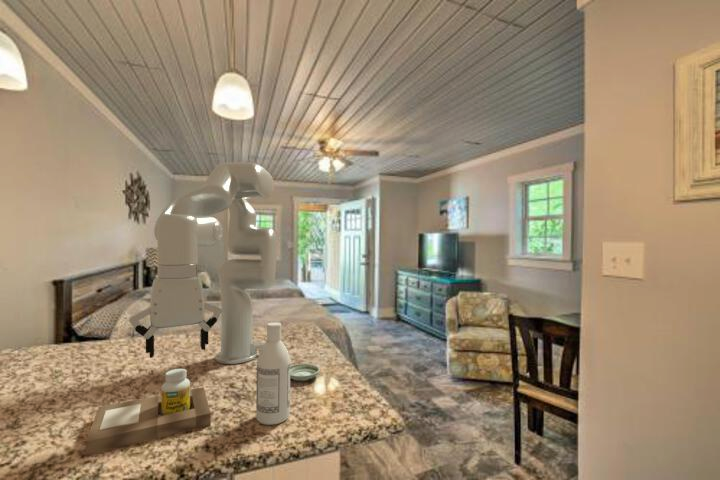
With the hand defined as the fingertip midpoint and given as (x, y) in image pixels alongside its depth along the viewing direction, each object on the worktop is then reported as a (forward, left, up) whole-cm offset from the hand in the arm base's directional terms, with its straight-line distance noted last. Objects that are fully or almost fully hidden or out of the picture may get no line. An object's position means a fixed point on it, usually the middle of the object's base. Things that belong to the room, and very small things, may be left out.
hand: (178, 351), depth 72 cm
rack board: (+4, +1, -14) cm, 14 cm away
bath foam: (-18, +11, -14) cm, 25 cm away
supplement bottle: (0, 0, -14) cm, 14 cm away
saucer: (-31, -6, -14) cm, 34 cm away
